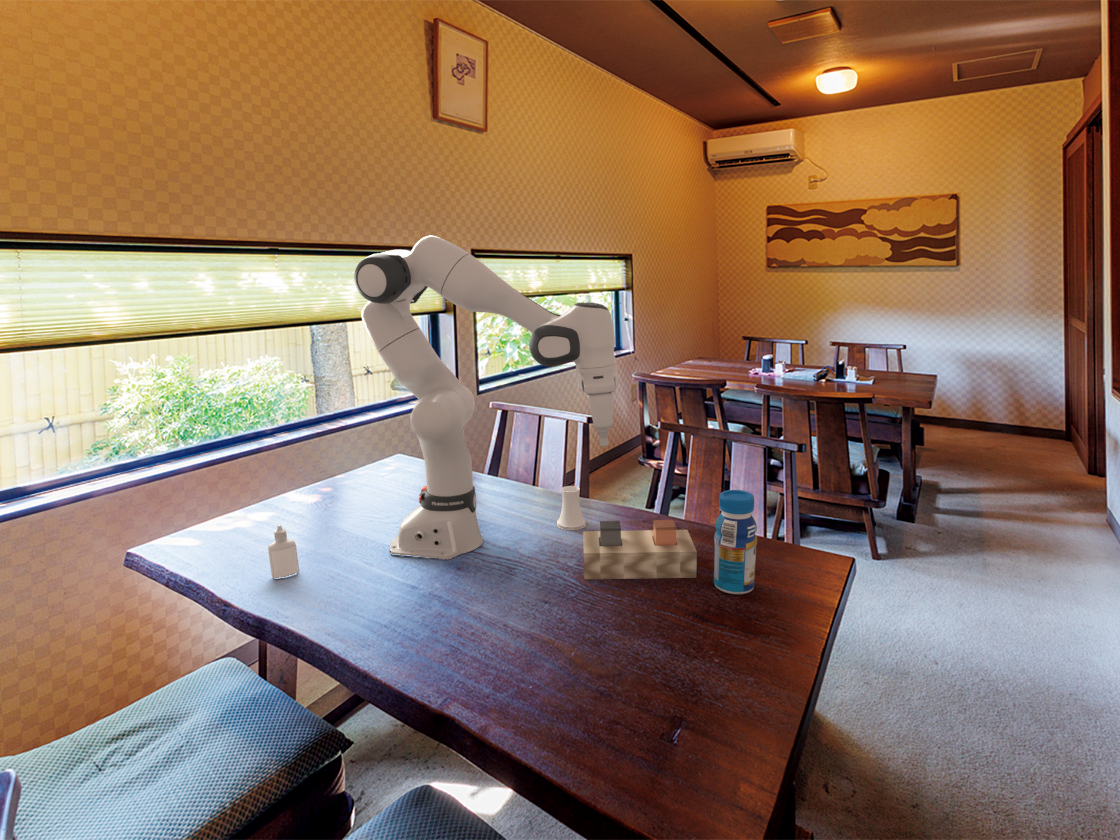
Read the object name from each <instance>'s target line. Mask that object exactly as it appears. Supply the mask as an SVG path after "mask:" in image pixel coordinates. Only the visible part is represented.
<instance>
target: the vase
mask: <svg viewBox="0 0 1120 840" xmlns="http://www.w3.org/2000/svg"><path fill="white" fill-rule="evenodd" d="M580 490H581V489H580V487H578V486H575V485H567V486H566V485H565V486H563V487H561V489H560V491H561V496H562V497H561V498H562V500H561V502H562V505H561V512H560V516H559V518H558V519H557V520H556V527H557V528H559V529H560V528H561V530H564V531H577V530H580V529H583V528H585V527H586V525H587V524H586V519H585V518H584V517H583V513H582V510H581V506H580Z"/></svg>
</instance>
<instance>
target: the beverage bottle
mask: <svg viewBox="0 0 1120 840" xmlns="http://www.w3.org/2000/svg"><path fill="white" fill-rule="evenodd" d="M718 504H719V505H718V507H719V510H720V511H721V512H720V514H719V515H718V517H717V518H716V519H715V524H714V527H715V529H716V530H715V532H714V535H713V541H714V563H713V565H714V567H713V568H714V570H713V572H714V573H713V583H714V586H715V588H716V589H718V590H719V591H721V592H723V593H726V594H730V595H744V594H748V593H750V592H752V591H753V590H754V588H755V582H756V581H755V574H756V554H757V545H758V536H757V535H756V532H757V530H758V526H757V522H756V520H755V518H754V516H753V515H752V514H753V512H754V509H755V496H754V494H753V493H751V492H749V491H746V490H742V489H741V490H740V489H728V490H724V491H722V492H720V494H719V503H718Z"/></svg>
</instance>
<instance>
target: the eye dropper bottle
mask: <svg viewBox="0 0 1120 840" xmlns="http://www.w3.org/2000/svg"><path fill="white" fill-rule="evenodd" d="M273 535H274V541H273V542H272V543H270V544H269V545H268V548H267V550H268V559H269V566H270V571H271V577H272V579H273V578H279V577H286V576H289V575H293V574H295V573H298V572H299V573H300V564H299V559H298V550H297V544H296V542H295V540H294V539H291V538H288V535H287V530H286V529H283V527H282V525H281V524H279V525H277V529H276V530H274V533H273ZM299 573H298V574H299Z"/></svg>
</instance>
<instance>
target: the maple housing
mask: <svg viewBox="0 0 1120 840" xmlns="http://www.w3.org/2000/svg"><path fill="white" fill-rule="evenodd" d="M653 532H654V529H651V530H650V529H649V530H648V529H647V530H641V529H640V530H621V546H600V530H591V531H589V530H586V531H582V538H583V539H582V540H583V541H582V546H583V548H582V549H583V576H584V577H583V579H584V580H616V579H617V580H620V579H622V580H623V579H624V580H629V579H630V580H632V579H634V580H635V579H636V580H637V579H683V578H684V579H687V578H689V579H692V578H693V579H694V578H695V579H696V578H697V568H698V567H697V566H698V565H697V564H698V563H697V561H698V557H697V556H698V551H697V549H696V546H695V545H694V542H693V540H692V538H691V535H690V533H689V530H688V529H676V545H654V541H653Z"/></svg>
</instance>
